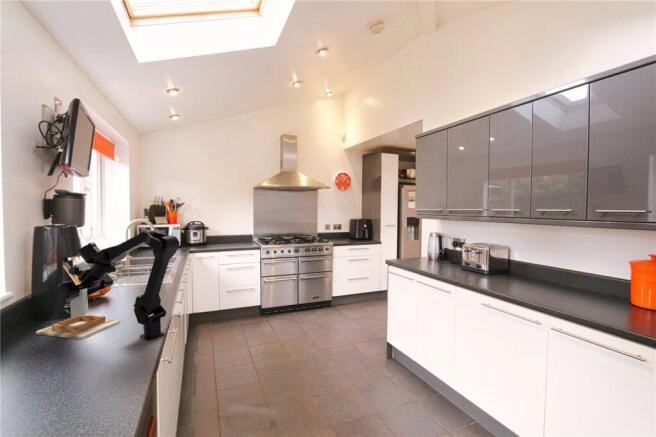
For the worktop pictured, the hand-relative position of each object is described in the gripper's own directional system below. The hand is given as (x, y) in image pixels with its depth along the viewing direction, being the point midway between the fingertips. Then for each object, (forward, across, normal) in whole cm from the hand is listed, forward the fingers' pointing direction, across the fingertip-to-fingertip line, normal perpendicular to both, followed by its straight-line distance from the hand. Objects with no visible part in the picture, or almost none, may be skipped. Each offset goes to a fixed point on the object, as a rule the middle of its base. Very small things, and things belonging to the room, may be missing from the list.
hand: (76, 298), depth 125 cm
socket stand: (+8, 0, +9) cm, 12 cm away
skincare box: (+4, 0, +6) cm, 7 cm away
